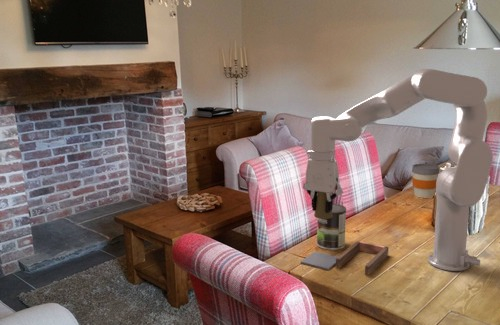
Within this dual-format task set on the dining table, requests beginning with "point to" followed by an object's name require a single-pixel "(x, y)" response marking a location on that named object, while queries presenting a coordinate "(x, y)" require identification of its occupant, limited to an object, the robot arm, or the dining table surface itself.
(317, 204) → the tan hourglass shape
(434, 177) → the reusable coffee cup
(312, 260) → the coaster
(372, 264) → the brown u-shaped frame
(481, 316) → the dining table surface
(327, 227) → the coffee can
